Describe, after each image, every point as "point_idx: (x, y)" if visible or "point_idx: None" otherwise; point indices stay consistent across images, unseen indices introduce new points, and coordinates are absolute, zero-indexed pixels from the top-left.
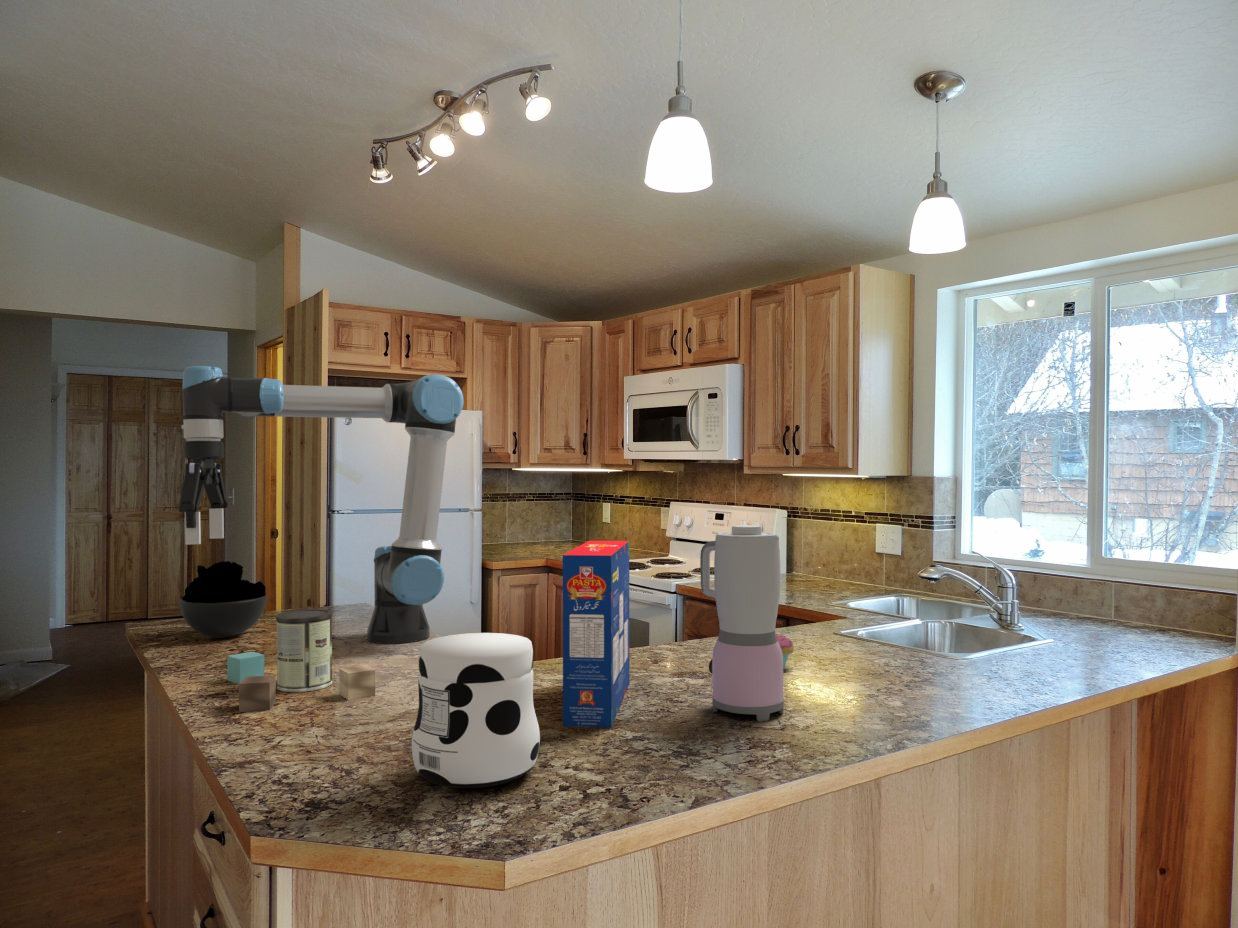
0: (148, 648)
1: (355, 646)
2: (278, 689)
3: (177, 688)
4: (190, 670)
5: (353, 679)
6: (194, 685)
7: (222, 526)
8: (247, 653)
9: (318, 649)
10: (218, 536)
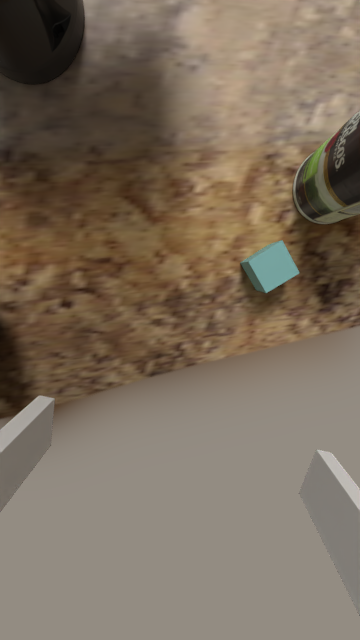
0: None
1: (87, 109)
2: (339, 220)
3: (274, 340)
4: (182, 340)
5: None
6: (267, 324)
7: (16, 437)
8: (261, 266)
9: None
10: (49, 419)
